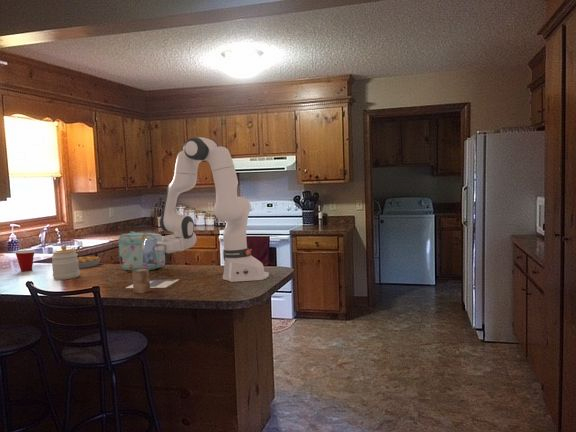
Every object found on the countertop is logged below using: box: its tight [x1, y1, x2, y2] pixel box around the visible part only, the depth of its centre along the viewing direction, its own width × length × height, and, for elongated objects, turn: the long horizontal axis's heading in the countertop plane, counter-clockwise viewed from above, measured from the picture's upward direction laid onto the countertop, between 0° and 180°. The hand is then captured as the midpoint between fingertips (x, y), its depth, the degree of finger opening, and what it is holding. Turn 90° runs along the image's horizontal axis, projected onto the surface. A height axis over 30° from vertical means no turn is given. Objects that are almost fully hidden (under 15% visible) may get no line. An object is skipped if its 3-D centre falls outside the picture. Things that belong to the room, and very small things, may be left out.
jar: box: [50, 244, 80, 281], centre depth 251 cm, size 13×13×18 cm
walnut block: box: [131, 269, 151, 294], centre depth 207 cm, size 5×5×10 cm
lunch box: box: [117, 230, 166, 271], centre depth 263 cm, size 27×10×21 cm, turn 72°
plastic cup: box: [14, 249, 36, 272], centre depth 279 cm, size 11×11×12 cm
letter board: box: [125, 278, 180, 289], centre depth 223 cm, size 20×16×1 cm
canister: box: [142, 238, 157, 264], centre depth 219 cm, size 6×6×11 cm
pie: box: [77, 255, 101, 269], centre depth 286 cm, size 22×22×5 cm
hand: (148, 248), depth 218 cm, fingers closed on canister, 6 cm apart
